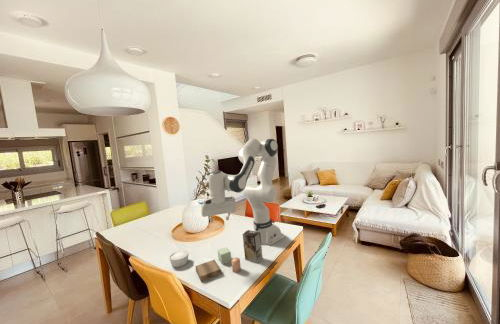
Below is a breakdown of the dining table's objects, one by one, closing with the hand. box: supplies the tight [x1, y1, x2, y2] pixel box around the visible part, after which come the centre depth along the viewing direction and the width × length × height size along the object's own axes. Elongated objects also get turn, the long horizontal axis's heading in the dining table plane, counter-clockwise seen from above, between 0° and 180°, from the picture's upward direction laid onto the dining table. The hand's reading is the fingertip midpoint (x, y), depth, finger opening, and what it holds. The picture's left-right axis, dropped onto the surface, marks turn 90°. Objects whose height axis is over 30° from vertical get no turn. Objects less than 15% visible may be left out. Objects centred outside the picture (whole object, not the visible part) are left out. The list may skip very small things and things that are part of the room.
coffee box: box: [242, 229, 264, 264], centre depth 124 cm, size 9×6×16 cm
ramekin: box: [168, 249, 189, 268], centre depth 127 cm, size 11×11×5 cm
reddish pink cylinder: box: [230, 257, 242, 274], centre depth 115 cm, size 5×5×6 cm
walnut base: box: [195, 259, 222, 283], centre depth 115 cm, size 11×11×3 cm
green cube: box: [217, 247, 232, 265], centre depth 126 cm, size 6×6×6 cm
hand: (219, 221), depth 125 cm, fingers open, 8 cm apart
